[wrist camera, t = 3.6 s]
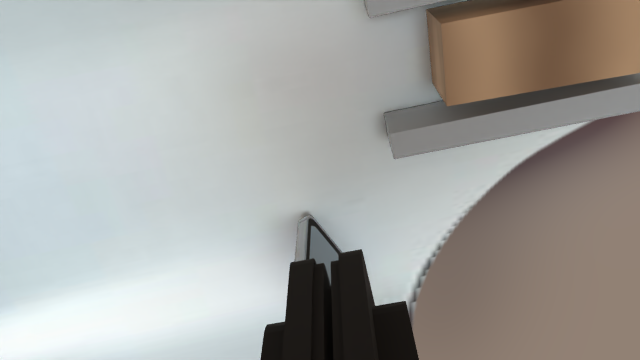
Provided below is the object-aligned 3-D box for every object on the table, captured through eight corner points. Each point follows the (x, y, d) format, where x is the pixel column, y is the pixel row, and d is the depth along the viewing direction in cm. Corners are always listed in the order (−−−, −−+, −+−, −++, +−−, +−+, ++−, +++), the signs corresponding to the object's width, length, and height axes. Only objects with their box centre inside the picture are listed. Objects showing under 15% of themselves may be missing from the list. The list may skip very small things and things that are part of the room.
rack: (699, -107, 23) (748, -109, 20) (675, 78, 27) (713, 96, 24) (359, -24, 24) (363, -16, 22) (388, 136, 29) (394, 159, 26)
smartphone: (366, 282, 34) (391, 514, 21) (355, 288, 34) (372, 520, 21) (306, 208, 31) (291, 424, 18) (294, 215, 32) (271, 433, 18)
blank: (625, -31, 24) (675, -21, 21) (617, 47, 26) (661, 69, 23) (425, 8, 25) (441, 23, 22) (431, 81, 27) (446, 106, 24)
